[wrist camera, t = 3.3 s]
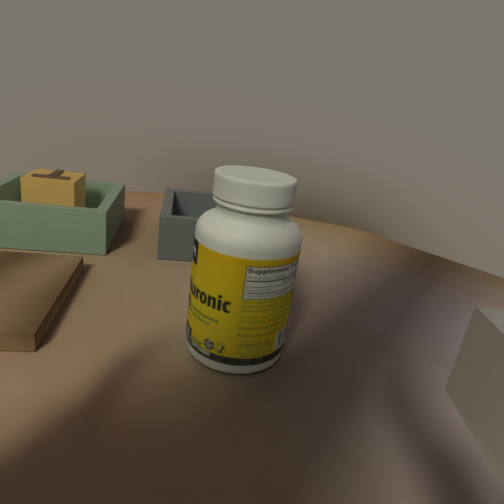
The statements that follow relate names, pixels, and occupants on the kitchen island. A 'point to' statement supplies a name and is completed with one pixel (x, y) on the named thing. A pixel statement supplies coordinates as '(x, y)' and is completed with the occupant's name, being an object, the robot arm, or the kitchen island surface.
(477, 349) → the robot arm
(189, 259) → the charcoal bin
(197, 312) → the supplement bottle
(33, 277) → the walnut pad
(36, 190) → the marked cube
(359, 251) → the kitchen island surface
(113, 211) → the sage bin
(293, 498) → the kitchen island surface
